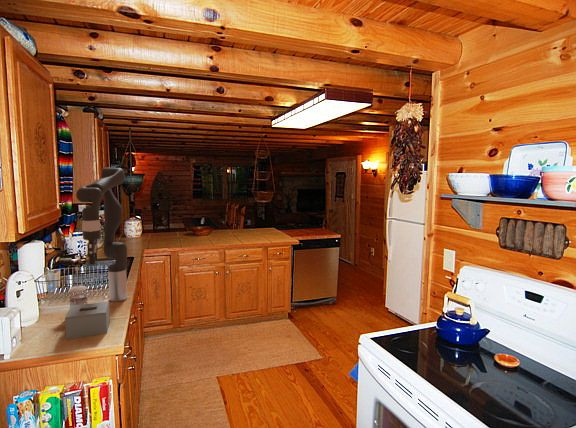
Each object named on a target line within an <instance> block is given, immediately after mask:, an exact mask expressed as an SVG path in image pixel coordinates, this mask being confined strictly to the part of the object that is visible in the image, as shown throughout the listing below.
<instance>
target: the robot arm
mask: <svg viewBox="0 0 576 428" xmlns="http://www.w3.org/2000/svg"><path fill="white" fill-rule="evenodd" d="M100 175H101V177H100V178H99V179H97V180H95V181H94V182H91V184H86V185H83V186H80V187H79V188H78V189H77V191H76V194H75V196H76V199H77V200H78V201H79V202H81V203H91V205H90V206H88V207H87V206H86V207H84V208H82V210H81V215H82V216H81V218H82V219H81V220H82V221H81V222H82V226H81V227H82V228H81V229H82V240H84V241H88V242H87V243H86V247H87V257H88V262H89V263H88V264H89V265H91V266H93V265H95V264H96V261H97V260H98V249H99V248H98V240H100V239H101V238H102V233H101V221H100V208H101V202H102V199H103V219H104V237H103V254H104V257H105V258H108V259H114V260H115V261H114V263H112V264H109V265H108V267H107V272H108V273H107V275H108V292H109V293H108V295H109V297H110V298H109V301H110V300H111V302H121V301H124V300H126V299H127V298H128V284H127V281H128V280H127V265H128V263H127V262H128V248H127V245H126V243H125V242H120V241H119V242H118V241H117V242H116V241H115V240H116V239H115V238H116V237H115V236H116V233H117V230H118V228H119V227H120V225H121V223H122V221H123V207H122V205H121V203H120V202H119V200H118V199H117V198H116V196H115V195H114V193H113V190H112V188H115V187H117V186H119V185H122V184H124V182H125V180H126V173H125V170H124V169H123V168H121V167H104V168H102V170H101V173H100Z"/></svg>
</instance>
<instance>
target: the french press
mask: <svg viewBox="0 0 576 428" xmlns="http://www.w3.org/2000/svg"><path fill="white" fill-rule="evenodd" d="M79 270H80V268H79V267H75V268H74V271H79ZM76 278H77V279H76V282H77V285H74V286H72V287H70V288H69V289H68V292H69V293H77V294H74V295H72V296H70V298H69V299H70V300H69V308H70V307H71V306H72V305H81V304H89V302H88V297H87V294H84V293H82V292H84V291H86V290H87V289H88V287H87V286H85V285H82V284H80V285H79V278H78V274H76Z"/></svg>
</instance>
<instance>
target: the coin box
mask: <svg viewBox="0 0 576 428" xmlns="http://www.w3.org/2000/svg"><path fill="white" fill-rule="evenodd" d="M110 321H111V317H110V300H109V301H101V302H93V303H87V304H86V303H84V304H81V305H71V307H70V306H69V308H68V311H67V313H66V315H65V316H64V322H65V334H66V335H65V337H66V339H67V340H69V339H75V338H81V337H90V336H96V335H97V336H98V335H103V334H107V333H108V331H109V325H110Z"/></svg>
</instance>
